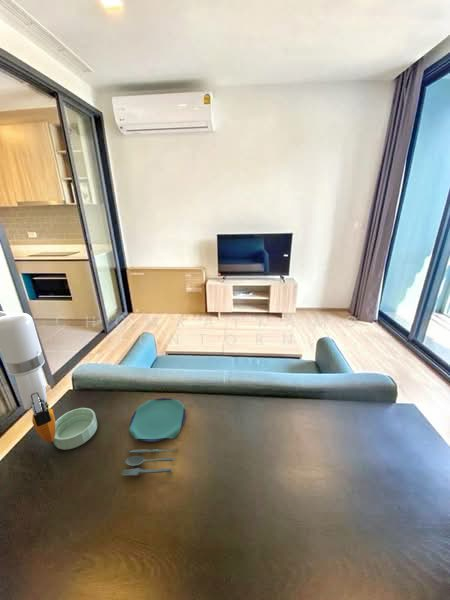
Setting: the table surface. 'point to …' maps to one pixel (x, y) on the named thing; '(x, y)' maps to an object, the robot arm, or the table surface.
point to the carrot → (46, 427)
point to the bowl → (74, 428)
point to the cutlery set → (155, 429)
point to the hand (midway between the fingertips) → (42, 416)
